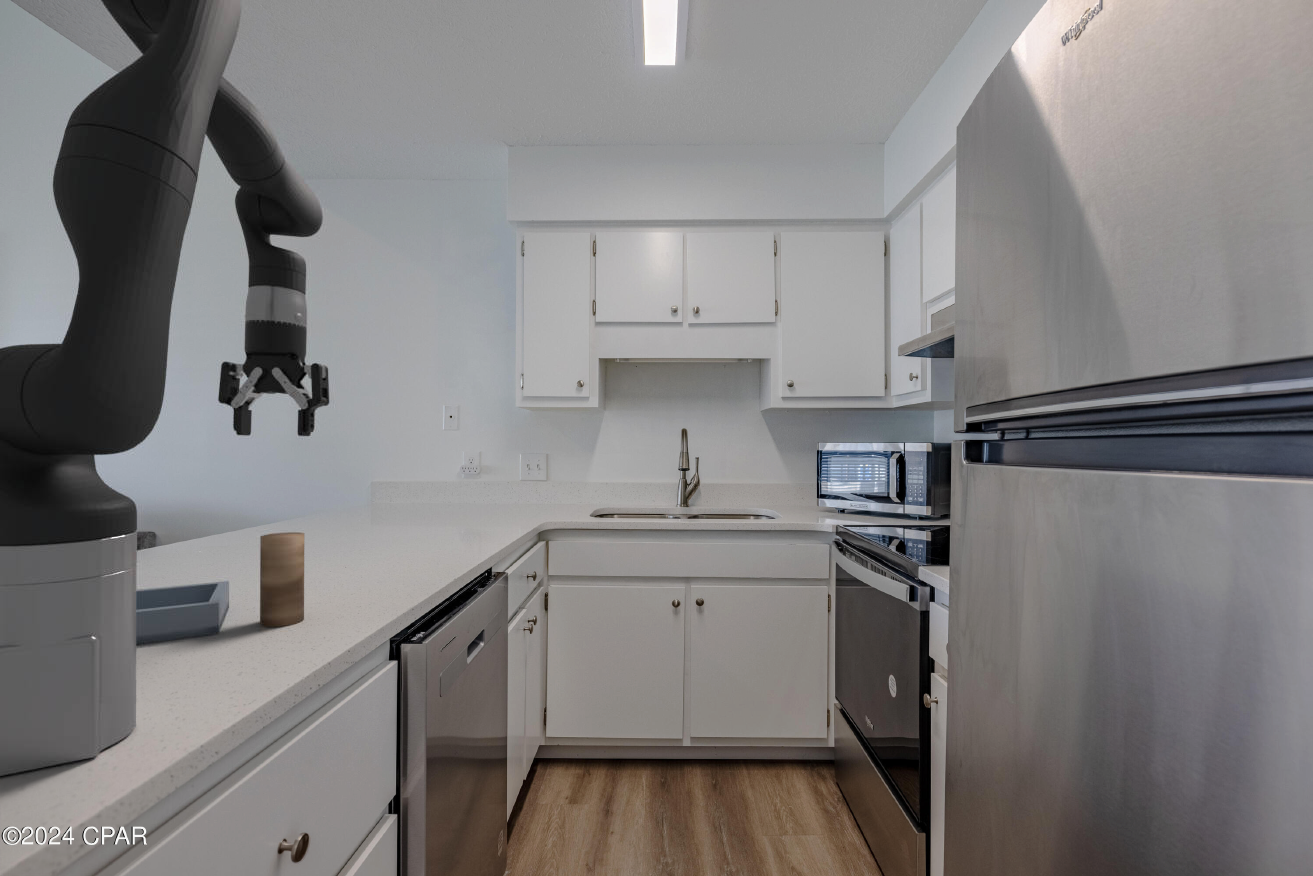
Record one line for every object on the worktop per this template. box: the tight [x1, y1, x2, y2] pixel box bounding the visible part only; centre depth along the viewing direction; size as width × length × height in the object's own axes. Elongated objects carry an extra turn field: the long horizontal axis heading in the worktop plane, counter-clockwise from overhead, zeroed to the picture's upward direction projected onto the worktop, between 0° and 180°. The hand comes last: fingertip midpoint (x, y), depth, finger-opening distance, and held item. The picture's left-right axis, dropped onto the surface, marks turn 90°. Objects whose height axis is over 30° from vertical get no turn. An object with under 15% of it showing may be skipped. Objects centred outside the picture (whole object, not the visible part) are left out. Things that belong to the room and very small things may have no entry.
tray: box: [136, 580, 230, 646], centre depth 81 cm, size 14×14×4 cm
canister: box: [259, 531, 305, 628], centre depth 84 cm, size 5×5×12 cm
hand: (273, 435), depth 86 cm, fingers open, 8 cm apart
